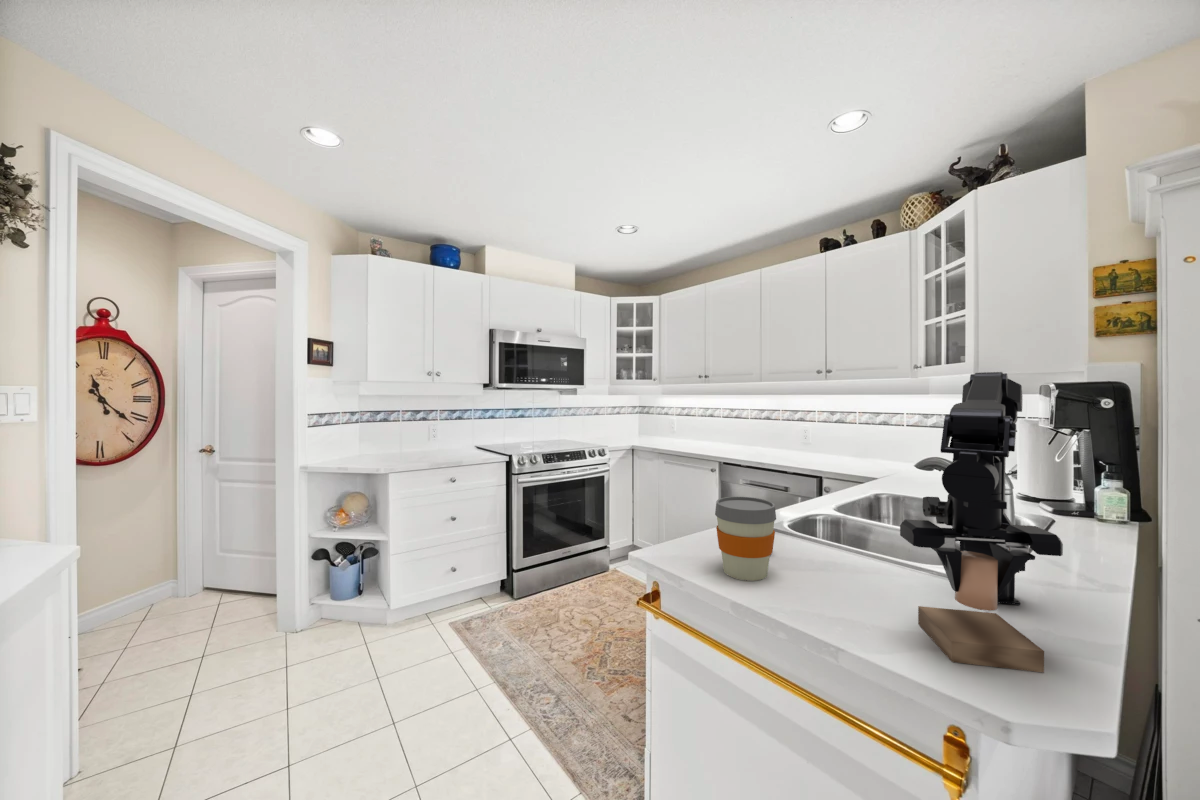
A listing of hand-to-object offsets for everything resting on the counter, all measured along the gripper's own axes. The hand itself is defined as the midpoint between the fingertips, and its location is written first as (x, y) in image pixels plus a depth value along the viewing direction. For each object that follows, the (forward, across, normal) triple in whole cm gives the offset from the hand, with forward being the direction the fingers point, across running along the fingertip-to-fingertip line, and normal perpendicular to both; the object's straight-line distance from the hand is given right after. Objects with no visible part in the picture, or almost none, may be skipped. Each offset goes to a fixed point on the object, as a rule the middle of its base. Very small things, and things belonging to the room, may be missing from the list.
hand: (975, 592), depth 70 cm
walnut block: (+8, 0, 0) cm, 8 cm away
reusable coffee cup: (+8, +32, -22) cm, 40 cm away
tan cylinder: (+2, 0, 0) cm, 2 cm away
